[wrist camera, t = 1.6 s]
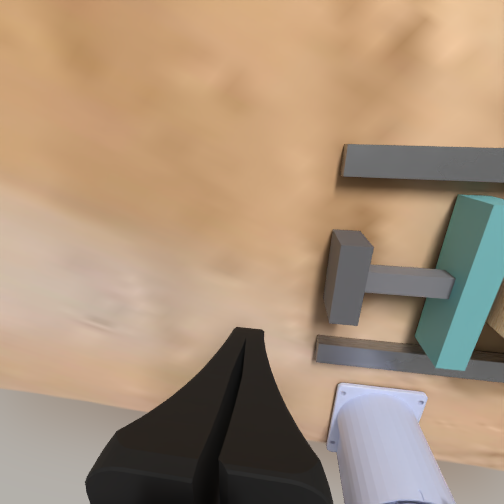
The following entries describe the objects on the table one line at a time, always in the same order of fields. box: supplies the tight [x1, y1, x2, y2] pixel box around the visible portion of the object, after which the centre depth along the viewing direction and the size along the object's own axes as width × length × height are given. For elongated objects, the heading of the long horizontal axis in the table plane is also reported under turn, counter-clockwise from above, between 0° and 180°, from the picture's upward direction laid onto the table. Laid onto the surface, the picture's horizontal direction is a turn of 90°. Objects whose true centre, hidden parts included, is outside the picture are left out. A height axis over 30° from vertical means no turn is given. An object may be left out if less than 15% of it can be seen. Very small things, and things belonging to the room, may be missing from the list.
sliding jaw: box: [323, 194, 504, 371], centre depth 19 cm, size 12×10×4 cm
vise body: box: [315, 144, 504, 383], centre depth 19 cm, size 18×22×4 cm
